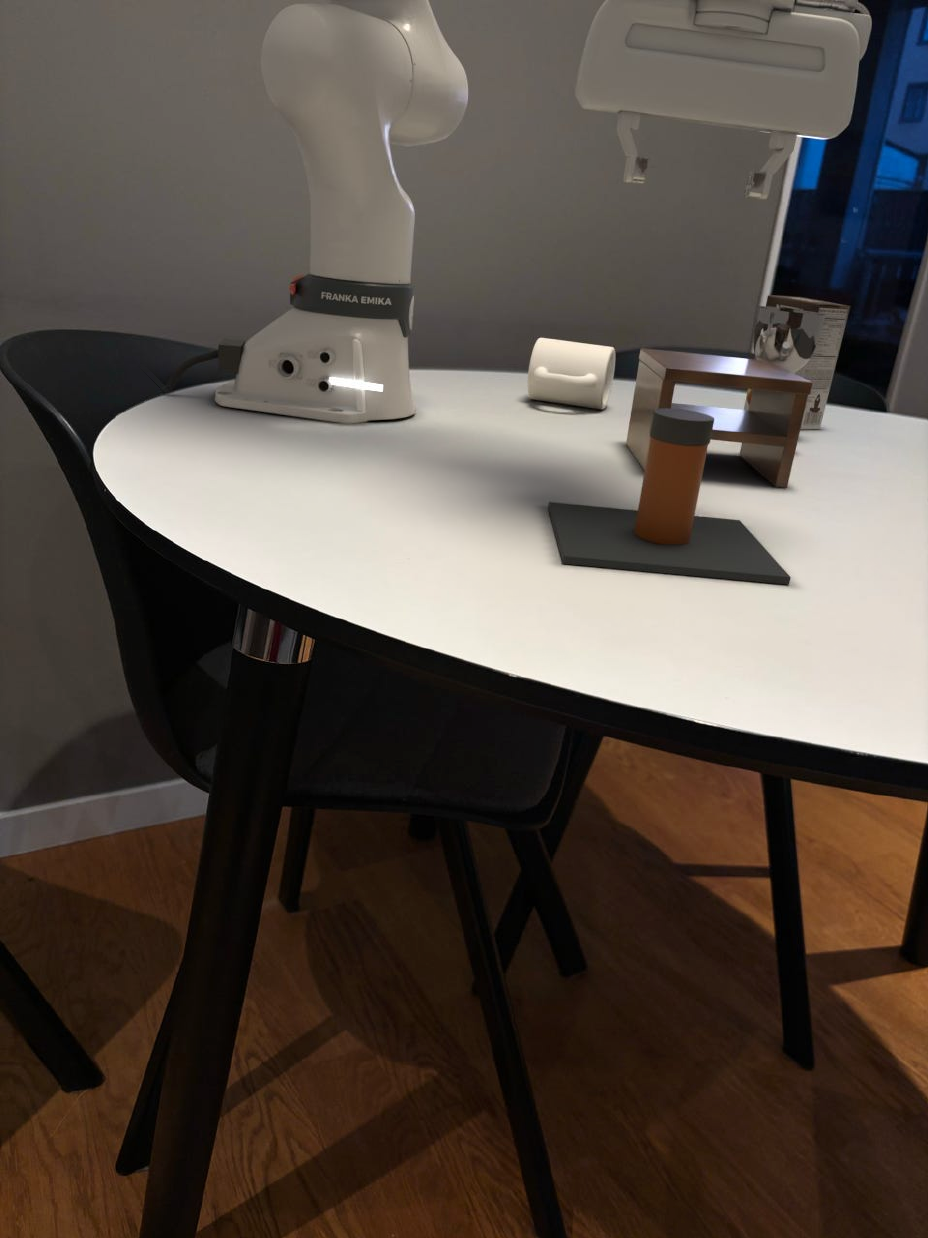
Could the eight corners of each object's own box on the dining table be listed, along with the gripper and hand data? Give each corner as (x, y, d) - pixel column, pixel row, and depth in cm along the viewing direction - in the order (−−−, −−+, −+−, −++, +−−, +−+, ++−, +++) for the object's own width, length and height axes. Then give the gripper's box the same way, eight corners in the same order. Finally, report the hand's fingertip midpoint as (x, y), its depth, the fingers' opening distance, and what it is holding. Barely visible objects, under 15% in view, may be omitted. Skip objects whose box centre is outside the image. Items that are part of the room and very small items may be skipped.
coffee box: (739, 415, 135) (764, 293, 129) (772, 415, 138) (798, 296, 132) (789, 430, 128) (818, 302, 122) (823, 429, 131) (853, 304, 125)
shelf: (647, 475, 96) (666, 367, 92) (625, 443, 110) (640, 347, 106) (788, 489, 96) (813, 382, 92) (748, 455, 110) (768, 360, 106)
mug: (538, 394, 135) (545, 334, 132) (609, 405, 133) (618, 344, 130) (516, 407, 124) (524, 342, 121) (593, 418, 122) (603, 353, 119)
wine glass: (804, 436, 125) (832, 314, 119) (787, 444, 119) (816, 315, 113) (744, 424, 129) (768, 305, 123) (724, 431, 122) (749, 306, 117)
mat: (562, 563, 68) (563, 555, 68) (547, 508, 81) (548, 501, 81) (789, 585, 69) (791, 577, 68) (738, 526, 82) (739, 519, 81)
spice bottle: (637, 542, 72) (659, 417, 69) (628, 525, 76) (648, 405, 73) (696, 548, 73) (720, 423, 69) (684, 530, 77) (706, 411, 73)
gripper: (862, 5, 73) (815, 207, 78) (589, -31, 72) (561, 174, 77) (895, -12, 67) (842, 207, 72) (599, -51, 66) (567, 172, 72)
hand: (694, 190), depth 75 cm, fingers open, 8 cm apart
